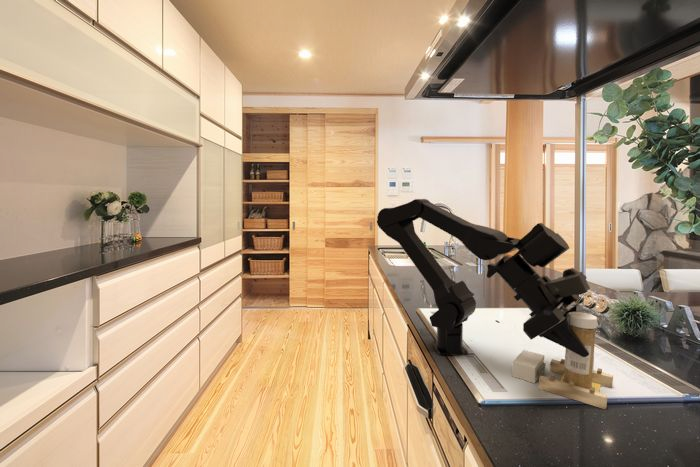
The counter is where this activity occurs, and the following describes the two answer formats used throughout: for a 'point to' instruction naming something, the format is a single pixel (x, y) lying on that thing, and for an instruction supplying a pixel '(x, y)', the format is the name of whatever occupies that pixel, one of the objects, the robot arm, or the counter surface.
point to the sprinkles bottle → (575, 364)
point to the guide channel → (575, 391)
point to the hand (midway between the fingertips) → (589, 351)
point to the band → (594, 385)
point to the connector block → (528, 366)
